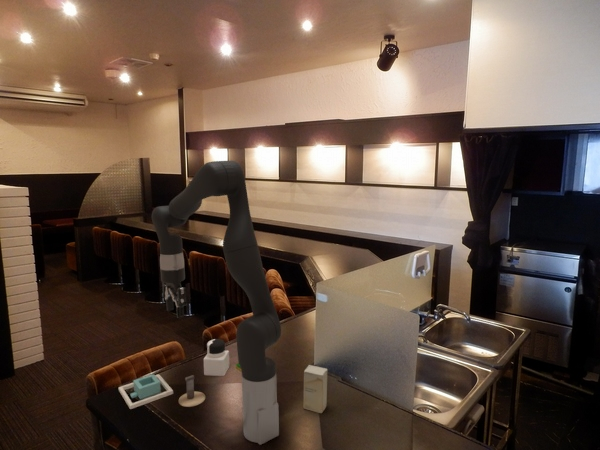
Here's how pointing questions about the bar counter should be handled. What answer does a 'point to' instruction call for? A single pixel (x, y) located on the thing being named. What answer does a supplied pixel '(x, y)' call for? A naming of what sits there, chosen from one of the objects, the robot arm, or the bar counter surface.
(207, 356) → the medicine bottle
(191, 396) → the peg stand
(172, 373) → the bar counter surface
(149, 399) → the tray
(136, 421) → the bar counter surface
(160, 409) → the bar counter surface
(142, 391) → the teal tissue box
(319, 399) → the skincare box
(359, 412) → the bar counter surface
